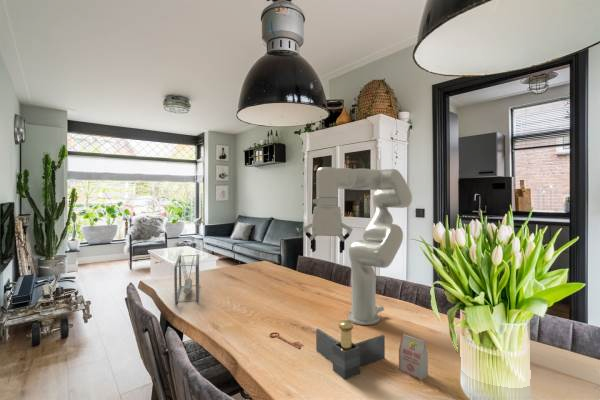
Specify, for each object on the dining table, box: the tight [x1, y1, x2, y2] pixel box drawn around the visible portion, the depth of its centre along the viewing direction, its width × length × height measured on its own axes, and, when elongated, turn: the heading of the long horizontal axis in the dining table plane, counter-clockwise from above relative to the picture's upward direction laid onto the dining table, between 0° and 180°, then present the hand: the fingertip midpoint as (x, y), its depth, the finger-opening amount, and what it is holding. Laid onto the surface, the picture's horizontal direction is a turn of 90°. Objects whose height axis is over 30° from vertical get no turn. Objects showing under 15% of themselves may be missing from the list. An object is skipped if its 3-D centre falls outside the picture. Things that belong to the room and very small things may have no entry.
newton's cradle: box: [173, 253, 200, 304], centre depth 161 cm, size 30×10×18 cm, turn 17°
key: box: [269, 332, 305, 350], centre depth 109 cm, size 6×1×15 cm
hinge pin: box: [338, 319, 354, 351], centre depth 89 cm, size 4×4×14 cm
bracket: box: [315, 328, 386, 380], centre depth 98 cm, size 17×17×8 cm
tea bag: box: [398, 333, 429, 381], centre depth 89 cm, size 4×7×10 cm, turn 42°
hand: (327, 251), depth 110 cm, fingers open, 9 cm apart
